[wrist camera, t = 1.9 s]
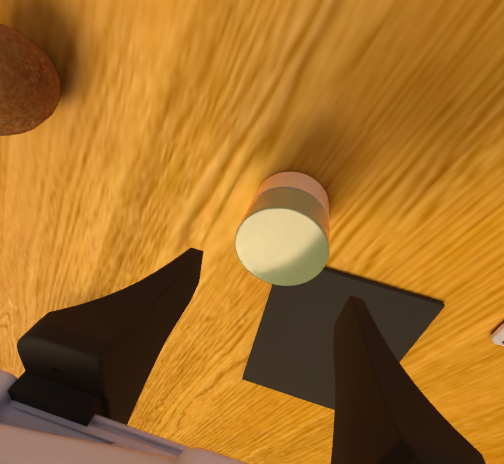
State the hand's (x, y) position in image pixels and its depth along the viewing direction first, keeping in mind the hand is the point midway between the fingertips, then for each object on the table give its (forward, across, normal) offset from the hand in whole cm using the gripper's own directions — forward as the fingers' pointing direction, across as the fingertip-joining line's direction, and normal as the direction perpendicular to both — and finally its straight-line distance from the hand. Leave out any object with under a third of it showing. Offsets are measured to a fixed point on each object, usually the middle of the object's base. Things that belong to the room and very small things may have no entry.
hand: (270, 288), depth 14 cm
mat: (+9, -7, +14) cm, 18 cm away
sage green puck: (+6, 0, 0) cm, 6 cm away
